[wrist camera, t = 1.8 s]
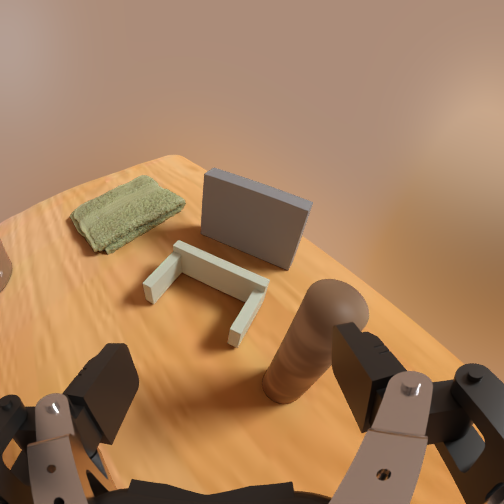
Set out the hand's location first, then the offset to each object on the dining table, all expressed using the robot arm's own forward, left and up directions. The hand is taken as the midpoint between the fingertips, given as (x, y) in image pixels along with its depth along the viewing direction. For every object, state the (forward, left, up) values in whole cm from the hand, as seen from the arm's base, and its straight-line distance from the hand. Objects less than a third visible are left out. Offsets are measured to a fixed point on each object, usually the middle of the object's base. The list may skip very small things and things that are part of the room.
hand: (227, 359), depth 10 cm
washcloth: (-28, +21, -18) cm, 39 cm away
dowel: (+4, +8, -17) cm, 19 cm away
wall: (-8, +25, -17) cm, 31 cm away
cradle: (-8, +13, -17) cm, 23 cm away
